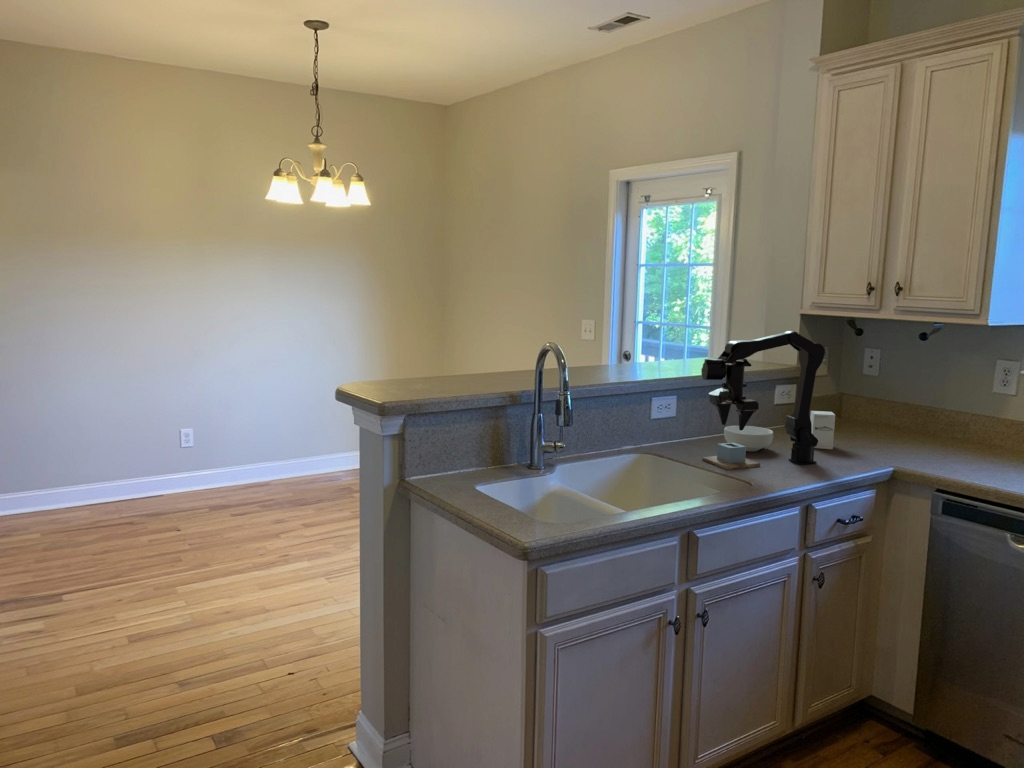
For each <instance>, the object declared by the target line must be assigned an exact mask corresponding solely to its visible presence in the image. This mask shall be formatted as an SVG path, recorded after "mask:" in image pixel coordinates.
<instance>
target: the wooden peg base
mask: <svg viewBox="0 0 1024 768" xmlns="http://www.w3.org/2000/svg"><path fill="white" fill-rule="evenodd" d="M731 447H733V446H731ZM701 460H702V461H704V462H706V463H708V462H709V464H711V465H713V464H714V465H713V466H716V467H718V466H719V468H721V469H723V468H724V470H726V469H727V470H734V469H733V468H738V469H746V468H745V467H748V468H756V467H758V468H759V467H761V463H760V462H757V461H755V460H752V459H749V458H747V457H746V458H745V462H737V463H727V462H724V461H721V460H719V459H717V455H712V456H702V457H701Z"/></svg>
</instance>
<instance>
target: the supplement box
mask: <svg viewBox="0 0 1024 768" xmlns="http://www.w3.org/2000/svg"><path fill="white" fill-rule="evenodd" d="M810 419H811V423H812V434H813V435H814V436H815V437H816V438H817V439H818V443H817V446H814V449H822V450H823V449H824V450H834V439H835V438H834V437H835V425H836V414H835V413H834V412H833V411H822V410H810Z"/></svg>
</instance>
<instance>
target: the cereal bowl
mask: <svg viewBox="0 0 1024 768" xmlns="http://www.w3.org/2000/svg"><path fill="white" fill-rule="evenodd" d="M723 437H724V440H725V441H726V443H737V444H740V445H743V446H746V452H758V451H760V449H761V450H762V449H764V448H767V447H769V446H770V445H771V444H772V442H773V440H774V431H773V430H771V429H769V428H766V427H761V426H753V425H745V427H744V429H743V430H739V425H729V426H728V425H727V426H726V427H724V429H723Z"/></svg>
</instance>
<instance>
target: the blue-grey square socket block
mask: <svg viewBox="0 0 1024 768" xmlns="http://www.w3.org/2000/svg"><path fill="white" fill-rule="evenodd" d="M731 446H733V447H731ZM716 449H717V450H716V456H717V459H719V460H721V461H724V462H727V463H737V462H745V458H747V457H746V453H747V451H746V446H743V445H740V444H737V443H728V442H723V443H717V447H716Z"/></svg>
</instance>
